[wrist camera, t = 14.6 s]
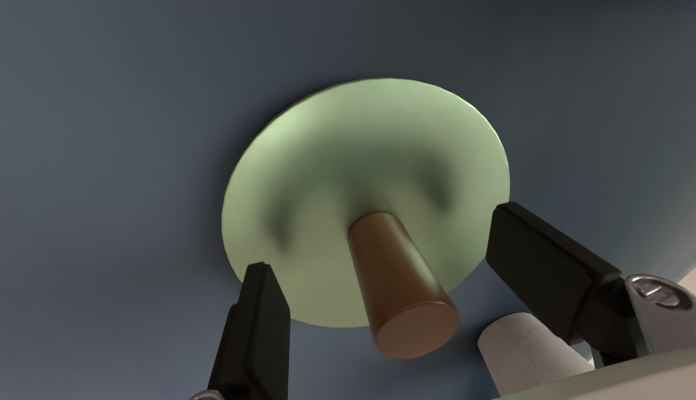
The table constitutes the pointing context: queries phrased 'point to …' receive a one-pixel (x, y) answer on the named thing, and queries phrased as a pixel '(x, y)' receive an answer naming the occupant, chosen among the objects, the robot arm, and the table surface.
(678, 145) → the table surface
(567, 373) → the house plant
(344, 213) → the lid
